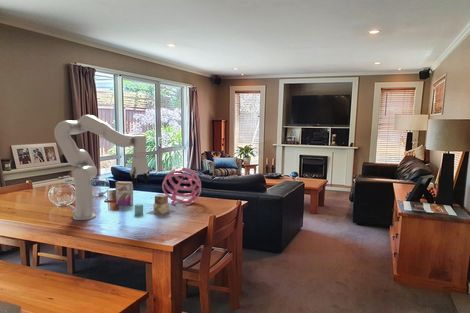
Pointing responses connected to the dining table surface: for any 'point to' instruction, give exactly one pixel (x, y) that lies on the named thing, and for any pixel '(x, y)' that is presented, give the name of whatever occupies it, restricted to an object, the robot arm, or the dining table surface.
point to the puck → (138, 209)
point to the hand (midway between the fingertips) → (140, 183)
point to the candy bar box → (124, 193)
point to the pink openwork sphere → (177, 187)
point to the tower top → (161, 199)
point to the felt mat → (161, 214)
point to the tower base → (161, 208)
